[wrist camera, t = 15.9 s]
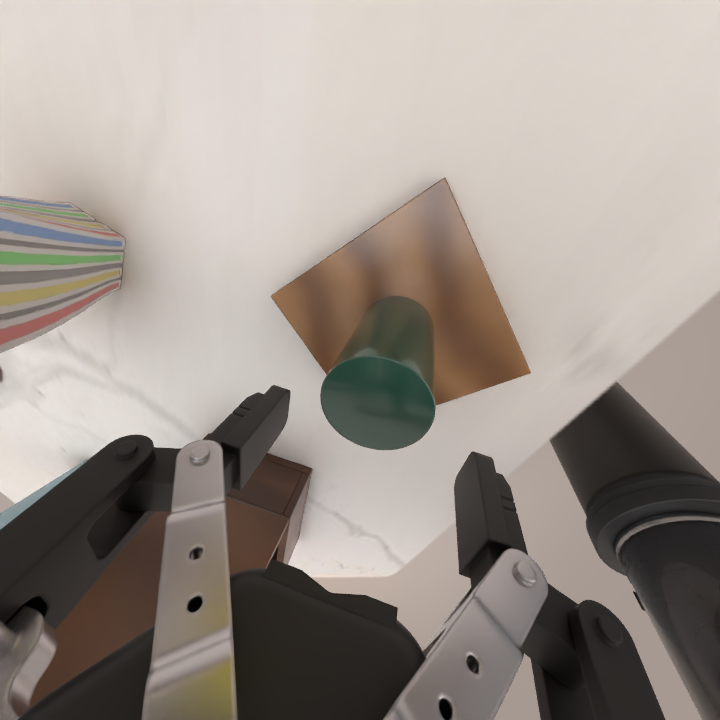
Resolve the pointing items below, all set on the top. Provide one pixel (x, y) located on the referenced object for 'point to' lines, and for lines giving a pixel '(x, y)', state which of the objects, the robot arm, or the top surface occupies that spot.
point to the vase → (51, 266)
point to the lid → (145, 591)
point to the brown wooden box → (278, 497)
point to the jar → (384, 377)
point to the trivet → (412, 294)
